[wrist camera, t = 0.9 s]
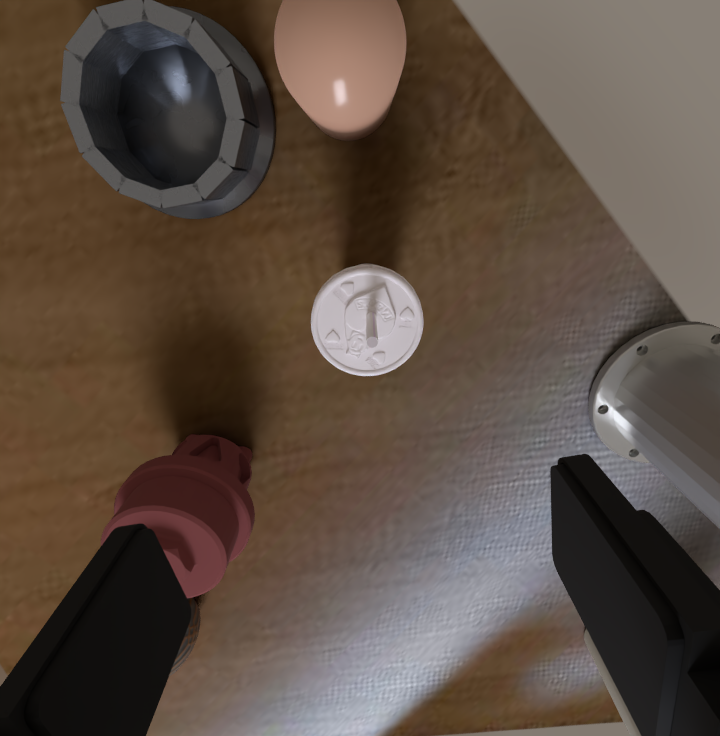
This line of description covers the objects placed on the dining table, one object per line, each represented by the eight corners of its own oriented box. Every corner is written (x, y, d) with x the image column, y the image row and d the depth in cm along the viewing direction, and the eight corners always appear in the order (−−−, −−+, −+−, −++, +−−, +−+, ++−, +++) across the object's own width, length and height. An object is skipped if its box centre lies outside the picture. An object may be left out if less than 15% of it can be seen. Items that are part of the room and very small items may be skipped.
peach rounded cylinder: (386, 22, 26) (396, -55, 18) (400, 131, 29) (414, 108, 20) (291, 43, 27) (258, -22, 18) (312, 149, 29) (291, 133, 21)
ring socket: (247, -9, 26) (223, -50, 21) (294, 201, 30) (282, 203, 26) (63, 34, 27) (2, 4, 22) (135, 232, 31) (97, 239, 27)
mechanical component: (227, 518, 42) (140, 457, 39) (295, 458, 39) (206, 387, 36) (174, 643, 30) (47, 568, 28) (265, 570, 27) (134, 479, 25)
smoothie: (423, 266, 32) (461, 319, 19) (386, 340, 34) (399, 432, 21) (344, 230, 31) (329, 259, 18) (312, 308, 33) (278, 384, 20)
